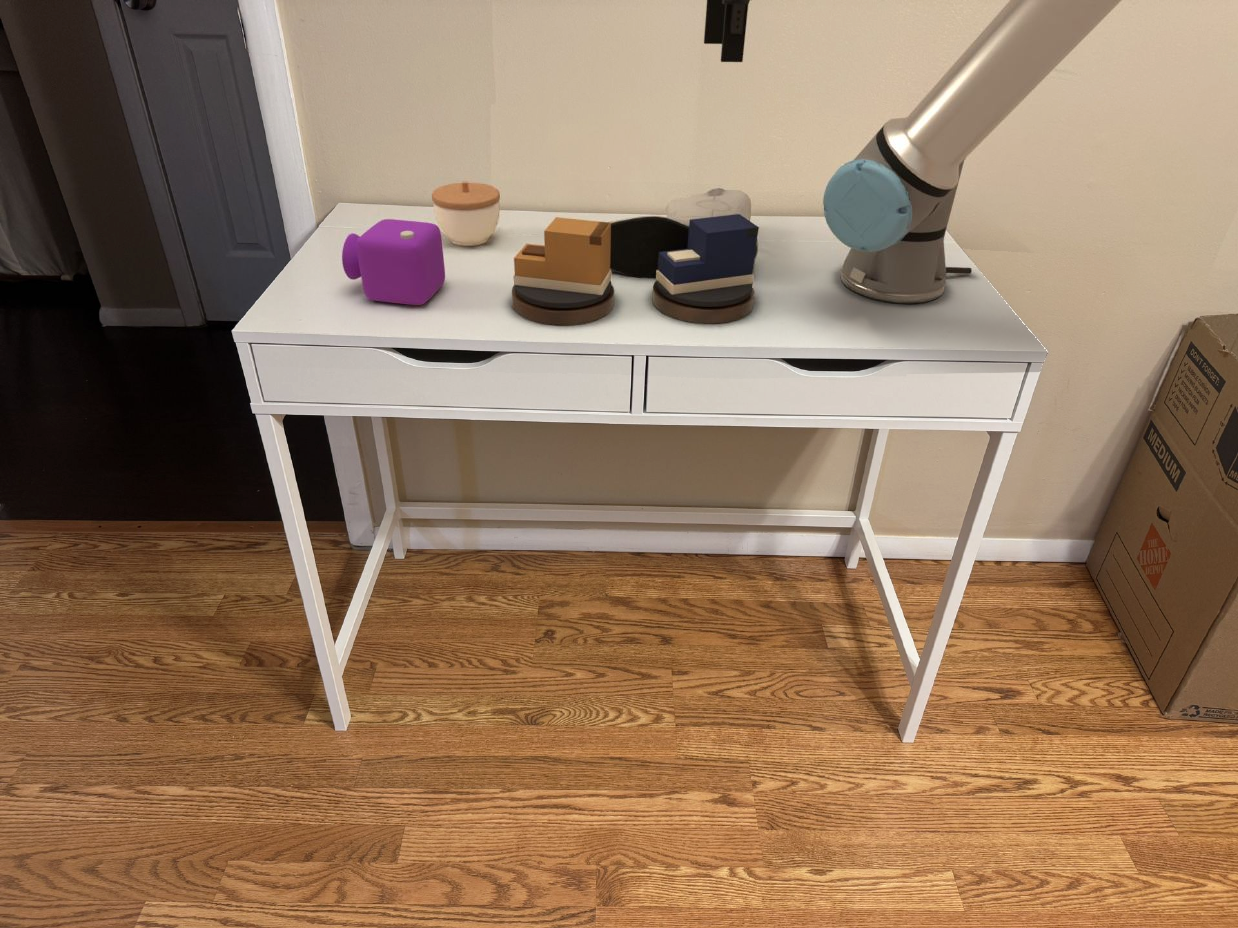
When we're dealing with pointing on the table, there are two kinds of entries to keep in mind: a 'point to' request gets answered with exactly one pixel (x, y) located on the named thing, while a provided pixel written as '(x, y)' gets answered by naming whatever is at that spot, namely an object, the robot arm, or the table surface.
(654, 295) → the turntable base
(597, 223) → the tan sneaker
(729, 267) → the navy and black piece
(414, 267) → the toy camera
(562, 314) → the turntable base
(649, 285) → the table surface
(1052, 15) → the robot arm
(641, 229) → the cowboy boot
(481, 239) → the trinket box
